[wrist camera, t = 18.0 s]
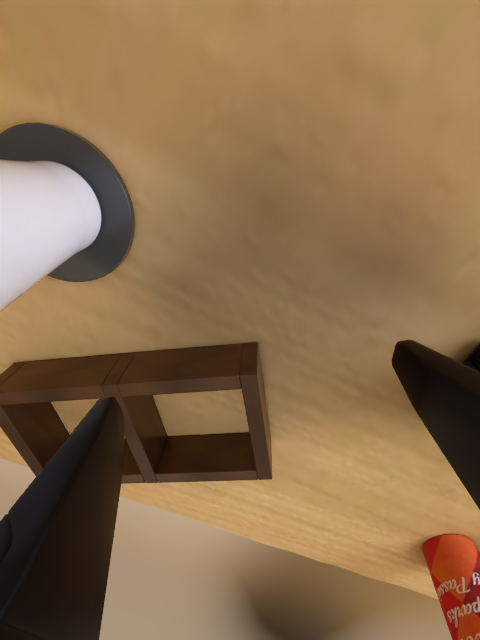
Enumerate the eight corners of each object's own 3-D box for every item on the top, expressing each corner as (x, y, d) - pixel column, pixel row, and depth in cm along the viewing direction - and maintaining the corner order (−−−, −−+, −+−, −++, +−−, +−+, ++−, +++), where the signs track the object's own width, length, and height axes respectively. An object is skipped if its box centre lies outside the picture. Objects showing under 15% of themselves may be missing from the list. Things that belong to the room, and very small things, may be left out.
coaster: (146, 158, 18) (143, 158, 18) (123, 296, 23) (121, 299, 22) (-21, 97, 17) (-29, 95, 17) (-9, 254, 22) (-15, 256, 21)
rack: (257, 341, 24) (256, 374, 21) (271, 440, 29) (272, 479, 26) (14, 362, 27) (-24, 394, 23) (66, 449, 32) (42, 486, 28)
